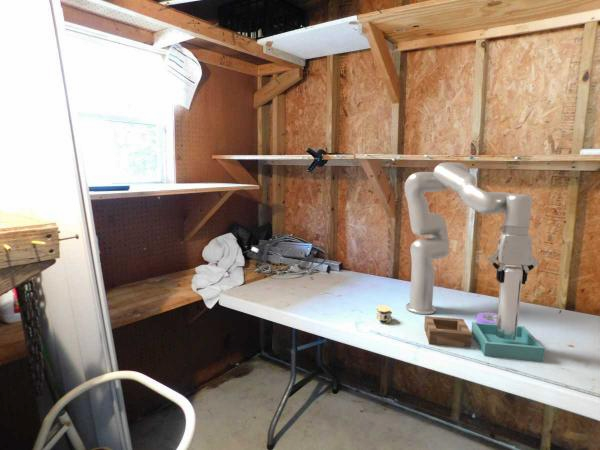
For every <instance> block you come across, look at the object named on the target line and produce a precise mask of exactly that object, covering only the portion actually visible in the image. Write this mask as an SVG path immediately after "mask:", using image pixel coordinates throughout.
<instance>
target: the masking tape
mask: <svg viewBox="0 0 600 450" xmlns="http://www.w3.org/2000/svg"><path fill="white" fill-rule="evenodd" d="M476 322H477V323H489V324H496V323H497V313H494V312H480V313H477V315H476Z"/></svg>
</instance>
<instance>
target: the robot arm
mask: <svg viewBox="0 0 600 450" xmlns="http://www.w3.org/2000/svg"><path fill="white" fill-rule="evenodd" d="M476 185H477V178H476V176H474V175H473V174H472V173H470V172H469V169H468V167H467V166H466V164H464V163H462V162H446V161H445V162H441V163H438V165H436V166H435V167H434V168H433V171H418V172H414V173H412V174H410V175H409V176H408V178H406V181H405V183H404V195H405V199H406V203H407V206H408V214H409V215H408V216H409V223H410V229H411V232H412V233H413V234H414V235H415V236H429V237H426V238H419V239H416V240H414V241H413V242H412V243H411V245H410V247H409V248H410V249H409V250H410V258H411V259H410V261H411V270H410V271H411V276H410V294H409V295H410V296H409V302H407V303H406V304H405V309H406V310H407V311H409V312H411V313H414V314H419V315H431V314H434V313H436V309H437V308H436V307H435V306H434V305H433V299H434V285H435V284H434V283H435V267H434V265H433V263H432V261H434V260H441V259H444V258H446V257H447V256H448V255H449V253H450V241H449V234H448V228H447V227H448V226H447V222H446V220H445V218H444V216H443V215H441V214H439V213H438V212H431V211H430V206H429V205H430V204H429V201H428V199H427V198H426V196H425V195H424V193H438V192H442V191H446V190H448V189H449V190H452V191H454V192H455V194H458V195H459V198H460V199H461V201H462V202H463V203H464V204H465V206H468V207H469V208H471V209H473V210H474V211H475V212H478V213H480V214H482V215H496V214H498V215H499V214H501V215H502V214H504V222H503V226H499V227H498V230H499V231H500V232H502V233H501V234H500V236H499V238H498V239H499V240H498V243H497V244H498V245H497V247H496V248H497V249H496V252H494V253H493V254H492V255H491V256H489V257H488V258H487V260H488V261H489V263H490V264H491V265H492V266H493V268H495V269H496V275H495V276H496V277H495V279H496V280H497V282H499V283H502V281H503V271H502V269H503V270H504V266H507V265H511V266H519V267H521V268H522V271H523V278H522V285H526V282H527V281H528V273H530V271H531V270H533V269H535V268H534V267H536V266H537V265H539V264H540V262H539V260H538V259H537V258H536V257H535V256H534V255H533V239H532V236H531V235H530V234H529V233H530V224H531V215H532V205H533V198H532V196H531V195H529V194H523V193H522V194H521V193H510V192H507V191H494V192H493V191H491V192H489V191H488V192H487V191H485V190H482V189H481V188H479V187H477V186H476ZM495 260H496V261H497V262H498V263H497V262H496V261H495Z"/></svg>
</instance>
